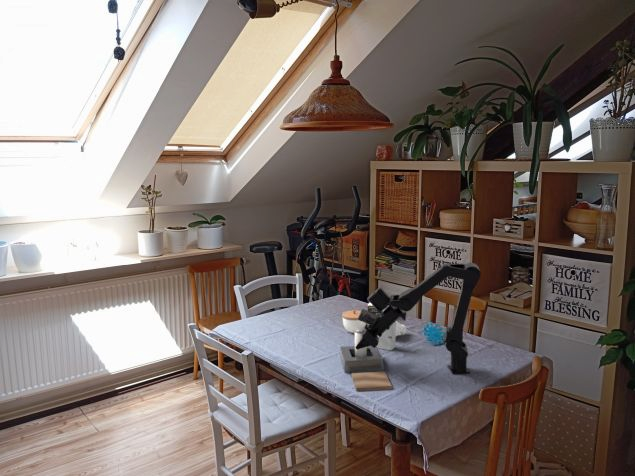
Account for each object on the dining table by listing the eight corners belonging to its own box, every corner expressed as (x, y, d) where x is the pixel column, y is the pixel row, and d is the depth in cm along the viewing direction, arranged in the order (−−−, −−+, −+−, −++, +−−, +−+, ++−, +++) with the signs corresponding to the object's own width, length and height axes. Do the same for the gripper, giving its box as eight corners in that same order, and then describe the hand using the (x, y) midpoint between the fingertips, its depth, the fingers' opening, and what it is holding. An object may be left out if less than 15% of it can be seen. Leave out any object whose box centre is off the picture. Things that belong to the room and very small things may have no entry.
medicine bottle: (367, 319, 253) (367, 294, 251) (370, 314, 260) (370, 290, 258) (382, 320, 251) (382, 295, 249) (385, 315, 258) (385, 291, 256)
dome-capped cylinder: (367, 365, 199) (367, 331, 197) (355, 365, 198) (355, 332, 196) (365, 360, 203) (365, 327, 201) (354, 361, 203) (353, 328, 201)
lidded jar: (370, 332, 235) (370, 312, 233) (348, 336, 231) (348, 315, 229) (360, 325, 245) (359, 305, 243) (338, 328, 241) (338, 308, 239)
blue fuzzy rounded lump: (427, 343, 216) (421, 321, 222) (421, 350, 220) (415, 328, 226) (451, 343, 219) (445, 322, 225) (444, 350, 224) (438, 328, 230)
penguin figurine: (380, 317, 227) (401, 315, 234) (378, 337, 228) (399, 334, 235) (390, 321, 222) (411, 318, 229) (388, 341, 223) (409, 338, 230)
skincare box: (377, 348, 217) (377, 319, 215) (382, 344, 220) (382, 316, 218) (392, 350, 214) (392, 321, 212) (396, 347, 217) (396, 318, 215)
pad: (391, 388, 180) (391, 386, 180) (356, 390, 179) (356, 388, 179) (384, 374, 192) (384, 371, 192) (351, 375, 191) (351, 373, 191)
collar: (383, 370, 195) (383, 358, 194) (344, 372, 194) (344, 360, 193) (376, 356, 209) (375, 345, 208) (340, 357, 208) (340, 346, 207)
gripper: (373, 296, 205) (345, 322, 209) (368, 310, 187) (337, 339, 191) (394, 316, 205) (365, 343, 209) (390, 333, 187) (359, 361, 191)
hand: (357, 346), depth 200 cm, fingers closed on dome-capped cylinder, 4 cm apart
